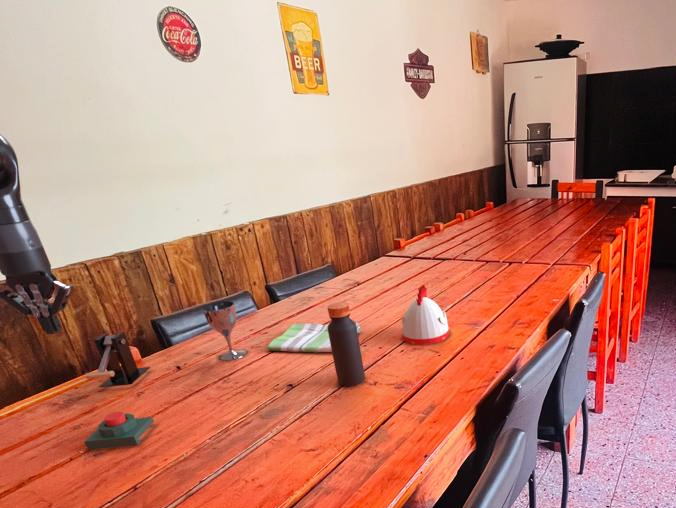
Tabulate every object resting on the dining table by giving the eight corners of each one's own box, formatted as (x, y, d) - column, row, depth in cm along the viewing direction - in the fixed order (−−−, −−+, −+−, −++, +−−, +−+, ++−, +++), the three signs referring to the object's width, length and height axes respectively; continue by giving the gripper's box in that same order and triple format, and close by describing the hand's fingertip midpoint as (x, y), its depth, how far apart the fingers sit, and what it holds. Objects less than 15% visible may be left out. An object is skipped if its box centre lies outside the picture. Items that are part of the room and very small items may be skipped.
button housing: (87, 450, 106) (80, 434, 105) (108, 429, 113) (102, 414, 112) (137, 445, 107) (131, 429, 105) (155, 425, 114) (149, 409, 112)
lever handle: (114, 378, 127) (109, 373, 125) (89, 381, 126) (83, 375, 124) (127, 339, 133) (122, 334, 131) (103, 342, 133) (98, 336, 131)
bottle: (351, 372, 133) (337, 299, 124) (371, 377, 130) (358, 302, 121) (332, 383, 128) (316, 308, 119) (352, 389, 125) (338, 312, 116)
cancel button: (103, 428, 107) (100, 421, 106) (112, 419, 110) (109, 412, 109) (121, 426, 107) (118, 419, 106) (129, 417, 110) (127, 410, 110)
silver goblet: (252, 353, 148) (238, 304, 141) (224, 363, 143) (209, 312, 136) (240, 347, 153) (226, 299, 146) (213, 356, 148) (198, 307, 141)
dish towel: (340, 354, 144) (338, 342, 143) (266, 352, 148) (263, 341, 147) (363, 331, 159) (361, 320, 158) (295, 330, 163) (292, 319, 162)
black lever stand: (133, 387, 132) (114, 342, 126) (100, 390, 131) (80, 345, 126) (151, 370, 141) (135, 327, 135) (121, 373, 140) (103, 330, 135)
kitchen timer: (453, 327, 158) (449, 280, 152) (442, 345, 146) (438, 294, 140) (410, 326, 161) (404, 280, 154) (396, 344, 149) (389, 294, 142)
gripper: (66, 240, 99) (99, 324, 107) (-6, 244, 98) (32, 328, 106) (40, 249, 93) (77, 337, 100) (-37, 253, 92) (5, 342, 99)
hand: (54, 332), depth 103 cm, fingers closed
